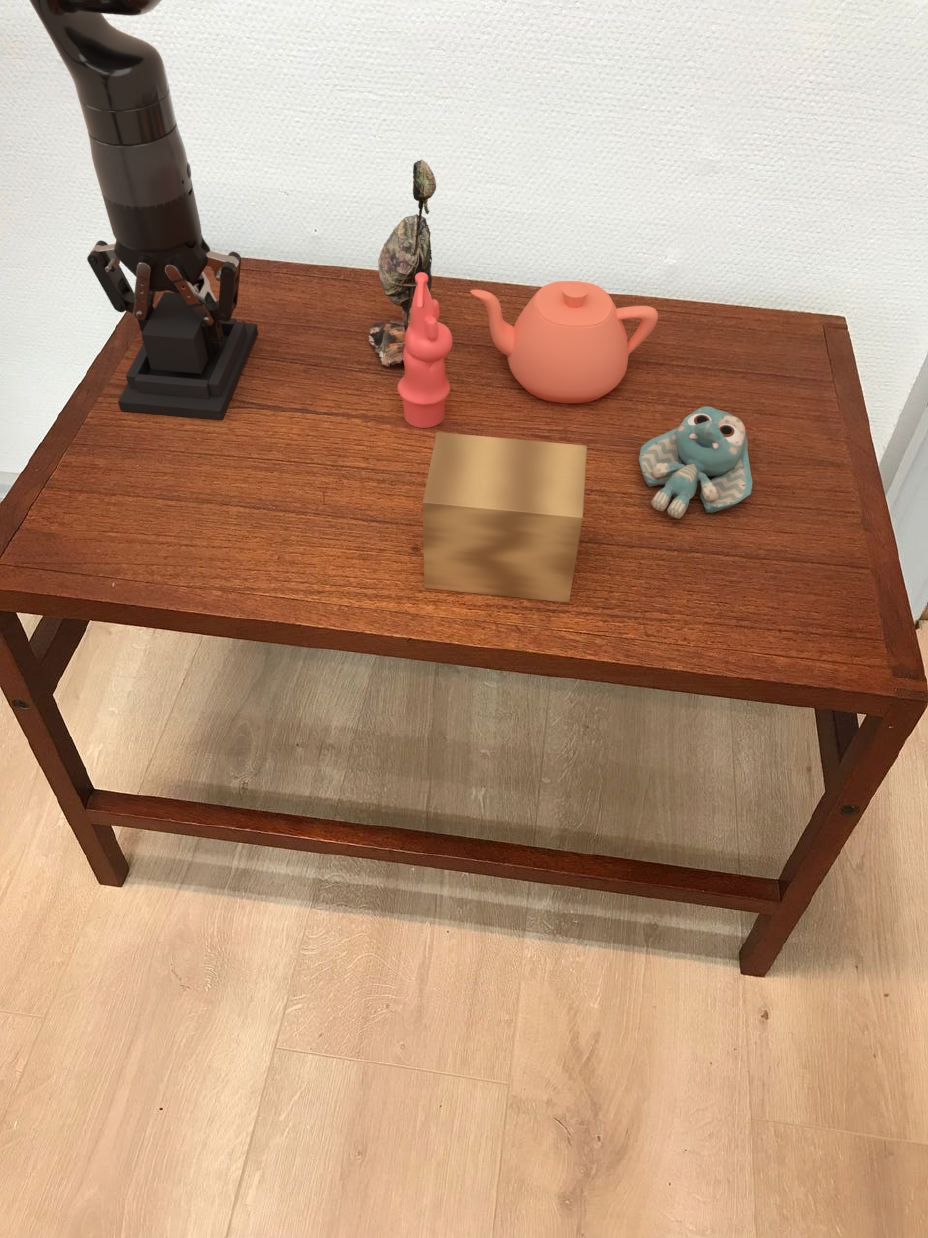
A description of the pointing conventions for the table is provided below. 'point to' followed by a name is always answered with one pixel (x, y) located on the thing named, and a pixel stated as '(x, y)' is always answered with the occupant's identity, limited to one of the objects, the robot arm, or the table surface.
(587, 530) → the table surface
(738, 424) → the stuffed animal
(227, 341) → the base pad
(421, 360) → the figurine
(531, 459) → the oak block
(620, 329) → the teapot
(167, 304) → the small black block
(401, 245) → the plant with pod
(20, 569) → the table surface
